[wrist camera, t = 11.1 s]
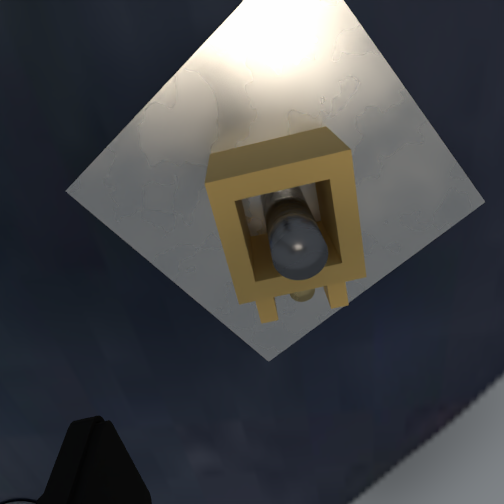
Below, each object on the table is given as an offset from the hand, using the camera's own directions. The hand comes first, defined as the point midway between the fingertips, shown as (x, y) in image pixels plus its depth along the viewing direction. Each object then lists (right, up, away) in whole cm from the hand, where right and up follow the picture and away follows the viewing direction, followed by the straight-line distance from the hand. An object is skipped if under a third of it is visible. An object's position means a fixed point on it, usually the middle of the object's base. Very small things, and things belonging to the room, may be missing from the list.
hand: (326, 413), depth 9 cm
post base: (0, +7, +14) cm, 16 cm away
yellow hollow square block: (0, +5, +14) cm, 15 cm away
